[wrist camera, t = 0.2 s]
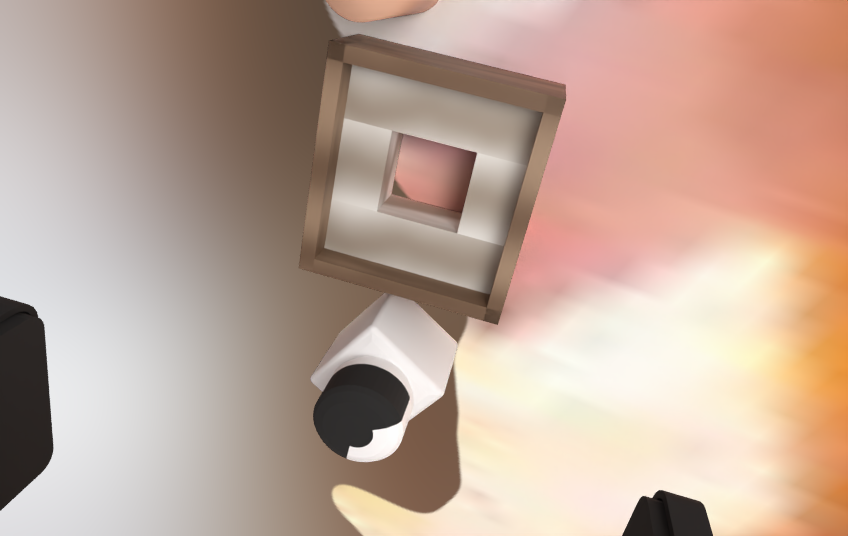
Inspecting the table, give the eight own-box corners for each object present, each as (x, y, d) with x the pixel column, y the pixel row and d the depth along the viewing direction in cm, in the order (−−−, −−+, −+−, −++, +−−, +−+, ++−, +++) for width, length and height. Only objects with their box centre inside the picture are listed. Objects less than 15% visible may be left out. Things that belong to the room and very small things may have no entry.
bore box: (358, 34, 42) (328, 40, 36) (565, 84, 41) (565, 99, 35) (327, 236, 48) (298, 268, 43) (504, 286, 47) (497, 324, 42)
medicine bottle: (338, 332, 52) (279, 422, 41) (396, 281, 49) (349, 364, 38) (399, 390, 53) (358, 492, 42) (460, 343, 50) (432, 441, 39)
